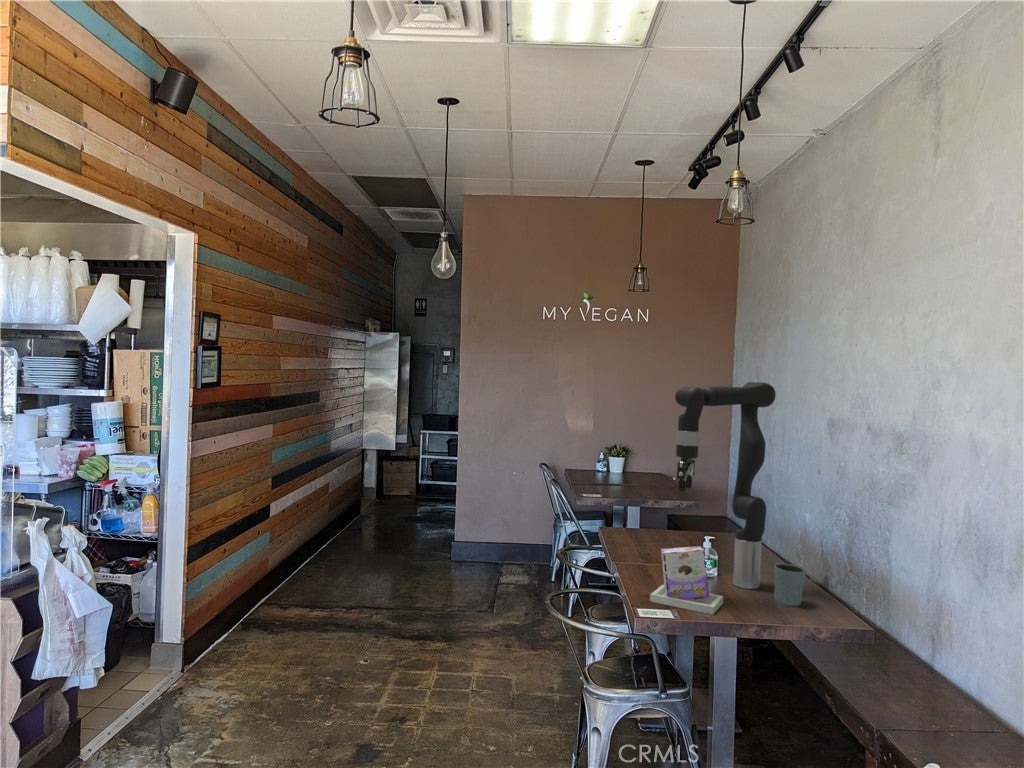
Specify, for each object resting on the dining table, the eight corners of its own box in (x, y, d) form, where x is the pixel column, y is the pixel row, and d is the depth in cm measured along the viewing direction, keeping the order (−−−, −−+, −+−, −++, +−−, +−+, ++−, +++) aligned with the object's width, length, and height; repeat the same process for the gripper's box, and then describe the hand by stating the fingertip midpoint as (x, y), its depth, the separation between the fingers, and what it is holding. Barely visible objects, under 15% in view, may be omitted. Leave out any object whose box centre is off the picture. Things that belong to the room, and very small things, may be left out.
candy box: (705, 593, 229) (701, 545, 229) (709, 599, 223) (705, 549, 223) (664, 596, 230) (660, 548, 230) (667, 601, 224) (663, 552, 224)
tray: (662, 591, 237) (662, 584, 237) (722, 603, 227) (723, 596, 227) (650, 601, 225) (650, 594, 225) (713, 614, 215) (713, 607, 215)
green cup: (778, 595, 239) (779, 561, 239) (808, 602, 233) (809, 567, 233) (768, 601, 231) (770, 567, 231) (799, 609, 225) (801, 573, 225)
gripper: (682, 441, 245) (680, 486, 245) (671, 444, 233) (668, 490, 233) (703, 443, 242) (700, 488, 242) (692, 446, 229) (690, 493, 229)
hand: (685, 489), depth 237 cm, fingers open, 8 cm apart
